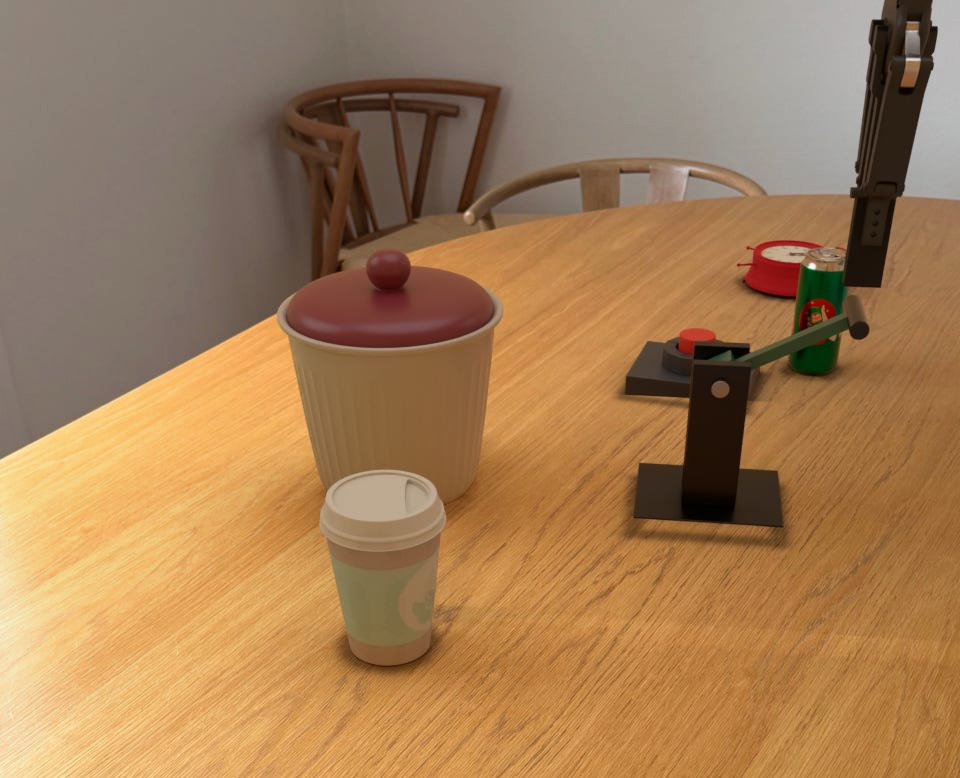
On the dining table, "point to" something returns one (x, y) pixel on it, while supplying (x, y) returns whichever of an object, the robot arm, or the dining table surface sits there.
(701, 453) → the bracket
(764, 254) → the alarm clock
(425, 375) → the canister
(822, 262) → the soda can
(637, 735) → the dining table surface
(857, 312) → the lever
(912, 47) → the robot arm
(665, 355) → the button box
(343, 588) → the coffee cup
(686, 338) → the button
